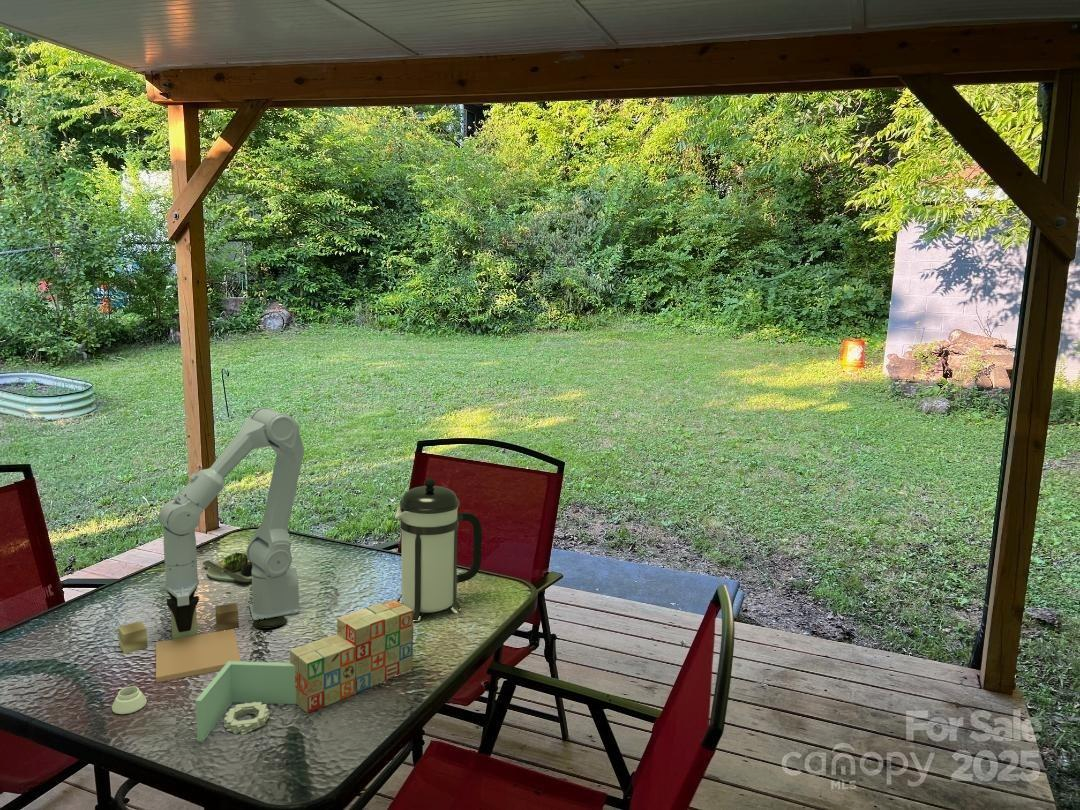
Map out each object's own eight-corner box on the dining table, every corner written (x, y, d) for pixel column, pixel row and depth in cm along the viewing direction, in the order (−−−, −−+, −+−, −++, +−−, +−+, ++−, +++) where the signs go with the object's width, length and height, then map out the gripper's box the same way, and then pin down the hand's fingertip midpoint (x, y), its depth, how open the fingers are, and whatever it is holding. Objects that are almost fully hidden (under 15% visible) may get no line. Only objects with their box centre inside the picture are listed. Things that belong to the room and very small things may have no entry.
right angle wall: (197, 744, 114) (195, 700, 112) (229, 701, 125) (228, 661, 124) (274, 747, 114) (273, 702, 112) (299, 703, 126) (298, 663, 124)
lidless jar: (153, 701, 124) (127, 697, 125) (152, 685, 124) (126, 681, 124) (132, 718, 119) (105, 714, 120) (131, 701, 119) (104, 697, 120)
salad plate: (182, 581, 173) (181, 563, 172) (227, 554, 190) (226, 538, 189) (256, 590, 169) (255, 571, 169) (295, 562, 187) (295, 545, 186)
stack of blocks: (307, 715, 122) (305, 646, 120) (289, 699, 126) (288, 632, 124) (413, 670, 137) (413, 608, 134) (394, 657, 141) (394, 597, 139)
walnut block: (236, 620, 154) (236, 602, 153) (238, 628, 150) (237, 610, 150) (216, 624, 152) (215, 606, 151) (217, 632, 148) (216, 614, 148)
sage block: (196, 625, 149) (195, 598, 148) (197, 635, 145) (196, 607, 144) (172, 630, 147) (170, 602, 146) (172, 640, 143) (170, 611, 142)
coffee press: (448, 630, 153) (450, 491, 148) (381, 616, 158) (381, 482, 153) (481, 597, 169) (484, 471, 164) (420, 586, 174) (420, 464, 169)
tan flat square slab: (234, 633, 148) (234, 628, 148) (240, 666, 136) (240, 661, 136) (156, 647, 142) (156, 642, 141) (156, 682, 129) (155, 677, 129)
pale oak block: (141, 640, 144) (140, 621, 144) (147, 647, 141) (146, 628, 141) (119, 646, 142) (117, 626, 141) (124, 654, 139) (123, 634, 138)
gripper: (158, 551, 148) (161, 613, 151) (157, 577, 136) (161, 645, 138) (196, 546, 152) (199, 607, 154) (199, 571, 139) (202, 638, 141)
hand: (184, 625), depth 146 cm, fingers closed on sage block, 4 cm apart
